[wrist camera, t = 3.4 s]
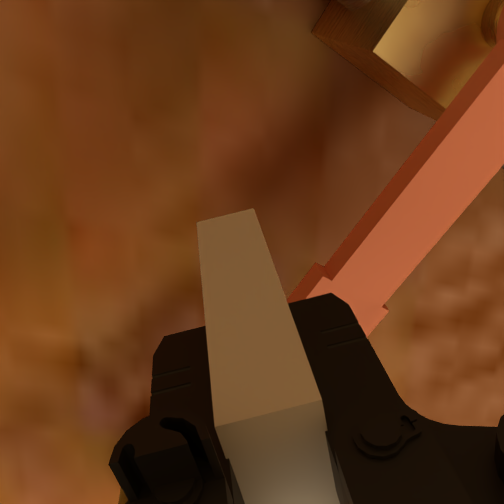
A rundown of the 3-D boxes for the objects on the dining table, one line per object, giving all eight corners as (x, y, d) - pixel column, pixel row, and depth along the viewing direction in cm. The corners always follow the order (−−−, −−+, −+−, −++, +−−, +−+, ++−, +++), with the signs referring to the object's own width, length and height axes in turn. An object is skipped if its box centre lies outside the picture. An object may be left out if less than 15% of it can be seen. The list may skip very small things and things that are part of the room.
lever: (560, -75, 14) (598, -82, 13) (628, 2, 15) (668, 4, 14) (250, 335, 19) (256, 359, 18) (321, 365, 20) (330, 389, 19)
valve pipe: (178, -69, 21) (185, -111, 12) (265, -245, 19) (354, -457, 10) (496, 173, 29) (641, 254, 20) (584, 70, 27) (791, 110, 18)
